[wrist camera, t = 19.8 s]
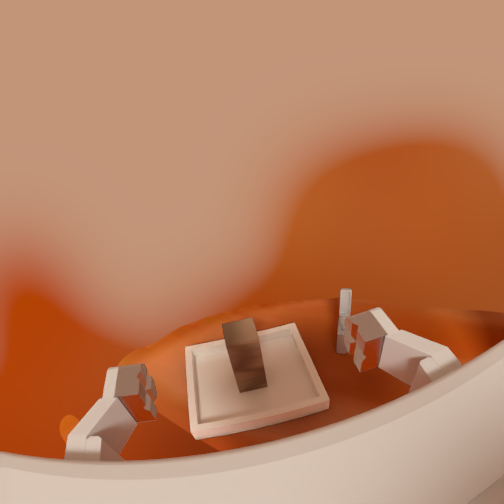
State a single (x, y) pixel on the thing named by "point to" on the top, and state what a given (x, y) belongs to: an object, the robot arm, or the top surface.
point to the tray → (256, 401)
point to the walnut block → (245, 354)
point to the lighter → (343, 318)
